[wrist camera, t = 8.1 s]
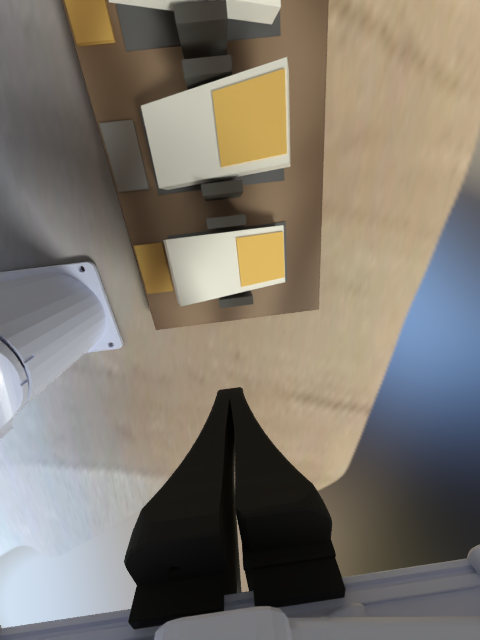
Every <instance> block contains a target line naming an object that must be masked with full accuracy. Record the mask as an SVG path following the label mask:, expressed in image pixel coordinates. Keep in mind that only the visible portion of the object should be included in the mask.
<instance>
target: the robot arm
mask: <svg viewBox="0 0 480 640" xmlns="http://www.w3.org/2000/svg"><path fill="white" fill-rule="evenodd" d="M81 266H83V267H84V268H85V271H82V269H81ZM110 343H113V345H111V344H110ZM122 345H123V340H122V338H121V335H120V332H119V329H118V326H117V324H116V321H115V318H114V315H113V312H112V310H111V307H110V304H109V301H108V298H107V296H106V293H105V290H104V287H103V285H102V282H101V279H100V276H99V273H98V271H97V268H96V266H95V264H94V263H92V262H88V261H87V262H79V263H71V264H63V265H54V266H46V267H38V268H29V269H21V270H13V271H4V272H0V439H2V438H3V437H4V436H5V435H6V434H7V433H8V432H9V431H10V430H11V429H12V428H13V425H12V421H13V418H14V416H15V415H16V414H17V413H18V412H19V411H20V410H21V409H23V408H24V407H25V406H26V405H27V404H28V403H29V402H30V401H32V400H33V399H34V398H35V397H36V396H37V395H38V394H39V393H41V392H42V391H43V390H44V389H45V388H46V387H47V386H48V385H50V384H51V383H52V382H53V381H54V380H55V379H56V378H57V377H59V376H60V375H61V374H62V373H63V372H64V371H65V370H66V369H68V368H69V367H70V366H71V365H72V364H73V363H74V362H75V361H77V360H78V359H79V358H80V357H81V356H82V355H83V354H84V353H88V352H96V351H104V350H112V349H119V348H121V347H122ZM234 471H235V484H234ZM236 515H237V519H236ZM236 520H238V525H239V530H240V535H241V540H242V552H243V567H244V570H245V574H246V579H247V583H248V588H249V591H248V592H241V581H240V565H239V552H238V551H239V550H238V535H237V521H236ZM331 531H332V520H331V517H330V514H329V512H328V510H327V508H326V506H325V504H324V502H323V500H322V498H321V496H320V495H319V493H318V491H317V490H316V488H315V487H314V485H313V484H312V483H311V482H310V481H309V480H308V479H307V478H305V477H304V476H303V475H302V474H301V473H300V472H299V471H298V470H297V469H296V468H295V467H294V466H293V465H292V464H291V463H290V462H289V461H288V460H287V459H286V458H285V457H284V456H283V455H282V453H281V452H280V451H279V450H278V449H277V448H276V447H275V445H274V444H273V443H272V442H271V440H270V439H269V438H268V436H267V435H266V434H265V432H264V431H263V429H262V428H261V427H260V425H259V423H258V422H257V420H256V419H255V417H254V415H253V413H252V411H251V410H250V408H249V406H248V404H247V401H246V399H245V396H244V393H243V389H242V388H241V387H238V388H231V389H223V390H219V391H218V393H217V396H216V399H215V402H214V405H213V407H212V410H211V412H210V414H209V417H208V419H207V421H206V423H205V425H204V427H203V429H202V431H201V433H200V435H199V436H198V438H197V440H196V442H195V443H194V445H193V446H192V448H191V450H190V451H189V453H188V454H187V455H186V457H185V458H184V460H183V461H182V463H181V464H180V465H179V467H178V468H177V469H176V471H175V472H174V473H173V474H172V476H171V477H170V478H169V479H168V481H167V482H166V483H165V484H164V485H163V487H162V488H161V489H160V490H159V491H158V492H157V493H156V494H155V496H154V497H153V498H152V499H151V500H150V501H149V502H148V503H147V504H146V505H145V506H144V507H143V508H142V510H141V512H140V515H139V517H138V520H137V522H136V525H135V527H134V529H133V532H132V535H131V539H130V542H129V546H128V549H127V552H126V555H125V560H124V563H125V566H126V568H127V570H128V572H129V574H130V575H131V576H132V578H133V580H134V581H135V583H136V584H137V587H136V592H135V595H134V599H133V604H132V608H131V609H128V610H121V611H115V612H109V613H101V614H95V615H88V616H82V617H76V618H68V619H61V620H55V621H48V622H41V623H35V624H28V625H21V626H15V627H9V628H1V626H0V640H480V545H478V546H476V547H474V548H472V549H471V550H470V552H469V554H468V559H462V560H455V561H448V562H441V563H435V564H428V565H422V566H415V567H408V568H401V569H395V570H388V571H381V572H375V573H368V574H362V575H355V576H348V577H342V576H341V574H340V571H339V568H338V565H337V562H336V559H335V556H336V554H335V550H334V547H333V544H332V541H331Z"/></svg>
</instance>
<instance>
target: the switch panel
mask: <svg viewBox="0 0 480 640" xmlns="http://www.w3.org/2000/svg"><path fill="white" fill-rule="evenodd" d="M328 1H329V0H281V8H280V10H279V12H278V14H277V15H276V17H275V19H274V21H273V23H272V24H265V23H258V22H250V21H243V20H236V19H228V16H227V5H226V0H216V1H206V2H196V3H186V4H176V5H173V8H174V11H170V10H163V9H155V8H148V7H141V6H133V5H126V4H119V3H112V2H109V0H62V2H63V6H64V9H65V13H66V16H67V20H68V23H69V27H70V30H71V34H72V37H73V41H74V45H75V48H76V52H77V55H78V59H79V62H80V66H81V69H82V73H83V76H84V80H85V83H86V87H87V90H88V94H89V97H90V101H91V104H92V108H93V111H94V115H95V118H96V122H97V125H98V129H99V132H100V136H101V139H102V143H103V146H104V150H105V153H106V157H107V160H108V164H109V167H110V171H111V174H112V178H113V181H114V185H115V188H116V192H117V195H118V199H119V202H120V206H121V209H122V213H123V216H124V220H125V223H126V227H127V230H128V234H129V237H130V241H131V244H132V248H133V251H134V255H135V258H136V262H137V265H138V269H139V272H140V276H141V279H142V283H143V286H144V290H145V293H146V297H147V300H148V304H149V307H150V311H151V314H152V318H153V321H154V325H155V328H156V330H160V329H168V328H176V327H184V326H191V325H199V324H207V323H215V322H223V321H231V320H239V319H247V318H255V317H262V316H270V315H278V314H286V313H294V312H302V311H310V310H318V309H319V288H320V256H321V225H322V193H323V161H324V129H325V97H326V65H327V33H328ZM285 57H287V60H288V68H289V110H290V167H286V168H281V169H276V170H270V171H265V172H260V173H255V174H249V175H244V176H239V177H233V178H228V179H223V180H218V181H212V182H207V183H202V184H197V185H191V186H186V187H181V188H176V189H170V190H165V189H161V188H159V187H158V182H157V178H156V173H155V168H154V164H153V159H152V155H151V150H150V146H149V141H148V137H147V132H146V127H145V123H144V118H143V114H142V109H141V106H142V105H145V104H148V103H151V102H154V101H157V100H160V99H163V98H166V97H169V96H172V95H175V94H177V93H180V92H183V91H186V90H189V89H192V88H195V87H198V86H201V85H204V84H207V83H210V82H213V81H216V80H219V79H222V78H225V77H228V76H231V75H234V74H237V73H240V72H243V71H246V70H249V69H252V68H255V67H258V66H261V65H264V64H267V63H270V62H273V61H276V60H279V59H282V58H285ZM280 225H283V227H284V260H285V282H283V283H279V284H275V285H271V286H266V287H262V288H258V289H254V290H249V291H245V292H241V293H237V294H232V295H228V296H224V297H220V298H216V299H211V300H207V301H203V302H199V303H194V304H190V305H186V306H182V307H180V305H179V304H178V302H177V297H176V293H175V289H174V284H173V280H172V276H171V271H170V267H169V263H168V258H167V254H166V250H165V245H164V241H163V240H167V239H175V238H183V237H191V236H199V235H207V234H215V233H223V232H231V231H239V230H247V229H255V228H263V227H271V226H280Z"/></svg>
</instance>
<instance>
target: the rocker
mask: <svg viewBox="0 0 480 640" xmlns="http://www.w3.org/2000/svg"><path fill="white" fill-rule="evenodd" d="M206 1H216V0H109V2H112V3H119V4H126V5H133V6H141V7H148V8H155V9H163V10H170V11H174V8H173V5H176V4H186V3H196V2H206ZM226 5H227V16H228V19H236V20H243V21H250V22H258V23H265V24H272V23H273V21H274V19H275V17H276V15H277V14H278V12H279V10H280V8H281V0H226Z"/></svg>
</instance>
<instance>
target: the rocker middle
mask: <svg viewBox="0 0 480 640" xmlns="http://www.w3.org/2000/svg"><path fill="white" fill-rule="evenodd" d="M141 109H142V114H143V118H144V123H145V127H146V132H147V137H148V141H149V146H150V150H151V155H152V159H153V164H154V168H155V173H156V178H157V182H158V187H159V188H161V189H165V190H170V189H176V188H181V187H186V186H191V185H197V184H202V183H207V182H212V181H218V180H223V179H228V178H233V177H239V176H244V175H249V174H255V173H260V172H265V171H270V170H276V169H281V168H286V167H290V110H289V68H288V60H287V57H285V58H282V59H279V60H276V61H273V62H270V63H267V64H264V65H261V66H258V67H255V68H252V69H249V70H246V71H243V72H240V73H237V74H234V75H231V76H228V77H225V78H222V79H219V80H216V81H213V82H210V83H207V84H204V85H201V86H198V87H195V88H192V89H189V90H186V91H183V92H180V93H177V94H175V95H172V96H169V97H166V98H163V99H160V100H157V101H154V102H151V103H148V104H145V105H142V106H141Z"/></svg>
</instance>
